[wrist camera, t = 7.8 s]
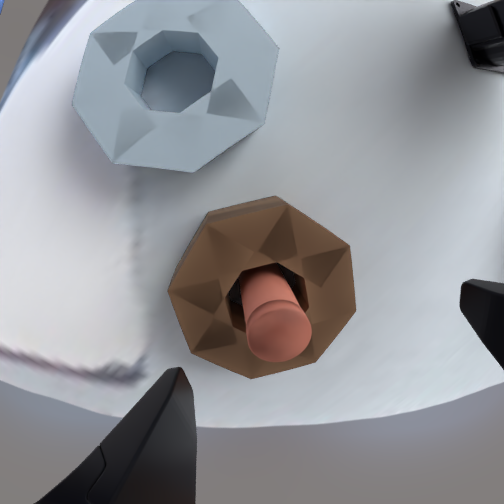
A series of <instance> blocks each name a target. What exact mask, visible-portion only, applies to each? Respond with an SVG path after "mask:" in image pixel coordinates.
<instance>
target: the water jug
mask: <svg viewBox="0 0 504 504" xmlns="http://www.w3.org/2000/svg"><path fill="white" fill-rule="evenodd" d="M3 3H4V0H0V14H1V11H2V7H3Z"/></svg>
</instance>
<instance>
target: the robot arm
mask: <svg viewBox="0 0 504 504" xmlns="http://www.w3.org/2000/svg"><path fill="white" fill-rule="evenodd" d="M451 5H452V7H453V10H454V12H455V15H456V18H457V20H458V23H459V26H460V28H461V31H462V34H463V37H464V40H465V43H466V46H467V50H468V53H469V56H470V60H471V63H472V65H473V66H474V67H475V68H480V69H485V70H491V71H496V72H501V73H504V0H494V1H491V2H488V3H486V4H483V5H481V6H478V7H476V6H473V5H470V4H467V3H464V2H461V1H458V0H454V1H452V2H451ZM460 309H461V312H462V313H463V315H464V316H465V317H466V319H467V320H468V322H469V323H470V325H471V326H472V328H473V329H474V331H475V332H476V334H477V335H478V337H479V338H480V340H481V341H482V342H483V344H484V345H485V346H486V348H487V349H488V350H489V351H490V353H491V354H492V355H493V357H494V358H495V359H496V360H497V362H498V363H499V364H500V366H501V367H502V368H503V370H504V283H498V282H491V281H484V280H478V279H470V280H468V281H465V282H463V283H462V286H461V294H460ZM196 454H197V433H196V421H195V409H194V396H193V390H192V387H191V385H190V383H189V381H188V379H187V377H186V375H185V373H184V371H183V369H182V368H181V367H176V368H170V369H167V370H166V371H165V372H164V373H163V374H162V376H161V377H160V378H159V379H158V380H157V381H156V382H155V383H154V384H153V386H152V387H151V388H150V389H149V390H148V391H147V392H146V393H145V395H144V396H143V397H142V398H141V399H140V400H139V401H138V402H137V403H136V404H135V406H134V407H133V408H132V409H131V410H130V411H129V412H128V413H127V414H126V416H125V417H124V418H123V419H122V420H121V421H120V422H119V423H118V424H117V426H116V427H115V428H114V429H113V430H112V431H111V432H110V433H109V434H108V435H107V436H106V438H105V439H104V440H103V441H102V442H101V443H100V446H97V447H96V448H95V449H94V451H93V452H92V453H91V454H90V455H89V456H88V457H87V458H86V459H85V460H84V461H83V462H82V463H81V464H80V465H79V466H78V467H77V468H76V469H75V470H74V471H72V472H71V473H70V474H69V475H68V476H67V477H66V478H65V479H64V480H62V481H61V482H60V483H59V484H58V485H57V486H55V487H54V488H53V489H52V490H51V491H50V492H48V493H47V494H46V495H45V496H44V497H43V498H41V499H40V500H39V501H37V502H36V503H34V504H195V496H196Z"/></svg>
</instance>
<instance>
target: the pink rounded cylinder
mask: <svg viewBox="0 0 504 504" xmlns="http://www.w3.org/2000/svg"><path fill="white" fill-rule="evenodd" d="M239 286H240V292H241V298H242V304H243V310H244V316H245V322H246V335H247V341H248V345H249V348H250V350H251V351H252V352H253V354H254V355H256V356H257V357H258V358H260V359H262V360H265V361H268V362H283V361H287V360H290V359H292V358H294V357H296V356H298V355H299V354H300V353H301V352H302V351H303V350H304V349H305V348H306V347H307V345H308V344H309V342H310V339H311V335H312V328H311V324H310V322H309V320H308V318H307V316H306V314H305V312H304V311H303V309H302V308H301V307H300V305H299V303H298V301H297V300H296V298H295V296H294V294H293V292H292V290H291V288H290V286H289V285H288V283H287V281H286V279H285V277H284V275H283V273H282V271H281V270H280V268H279V266H278V265H277V264H276V263H271V264H267V265H263V266H259V267H255V268H251V269H247V270H243V271H242V272H241V273H240V275H239Z"/></svg>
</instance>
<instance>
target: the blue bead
mask: <svg viewBox="0 0 504 504" xmlns="http://www.w3.org/2000/svg"><path fill="white" fill-rule="evenodd" d="M172 51H176V52H188V53H198V54H202V55H203V56H204V58H205V59H206V60H207V61H208V63H209V64H210V65H211V66H212V68H213V69H214V70H215V76H214V80H213V85H212V90H211V92H209V93H208V94H206V95H205V96H203V97H202V98H200V99H199V100H197V101H196V102H194V103H193V104H191V105H190V106H189V107H187V108H186V109H184V110H183V111H182V112H180V113H175V112H166V111H155V110H151V109H150V108H149V106H148V105H147V104H146V102H145V101H144V99H143V98H142V97H141V93H142V89H143V84H144V80H145V76H146V71H147V68H149V67H150V66H151V65H153V64H154V63H156V62H157V61H158V60H160V59H161V58H163V57H164V56H166V55H167V54H169V53H170V52H172ZM278 52H279V47H278V46H277V45H276V43H275V42H274V41H273V40H272V38H271V37H270V36H269V35H268V34H267V32H266V31H265V30H264V29H263V28H262V26H261V25H260V24H259V23H258V22H257V20H256V19H255V18H254V17H253V16H252V15H251V14H250V12H249V11H248V10H247V9H246V8H245V7H244V6H243V5H242V3H241V2H240V1H239V0H135V1H134V2H132V3H131V4H129V5H128V6H126V7H125V8H123V9H122V10H121V11H119V12H118V13H116V14H115V15H114V16H112V17H111V18H109V19H108V20H107V21H105V22H104V23H103V24H101V25H100V26H99V27H98V28H96V29H95V30H94V31H92V32H91V33H90V36H89V39H88V42H87V45H86V49H85V52H84V56H83V59H82V63H81V67H80V71H79V75H78V79H77V83H76V87H75V92H74V97H73V101H72V105H73V107H74V108H75V110H76V111H77V113H78V114H79V116H80V117H81V119H82V120H83V122H84V123H85V125H86V126H87V128H88V129H89V131H90V132H91V134H92V135H93V137H94V138H95V139H96V141H97V142H98V144H99V145H100V147H101V148H102V149H103V151H104V152H105V154H106V155H107V157H108V158H109V159H110V161H111V162H112V163H113V164H124V165H133V166H143V167H151V168H160V169H168V170H176V171H183V172H191V173H194V172H196V171H197V170H199V169H200V168H202V167H203V166H205V165H206V164H207V163H209V162H210V161H211V160H213V159H214V158H216V157H217V156H219V155H220V154H221V153H223V152H224V151H226V150H227V149H229V148H230V147H231V146H233V145H234V144H236V143H237V142H239V141H240V140H242V139H243V138H245V137H246V136H248V135H249V134H251V133H252V132H254V131H255V130H257V129H258V128H259V127H261V126H262V125H263V124H265V120H266V114H267V109H268V104H269V99H270V93H271V88H272V83H273V78H274V73H275V68H276V62H277V57H278Z"/></svg>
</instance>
